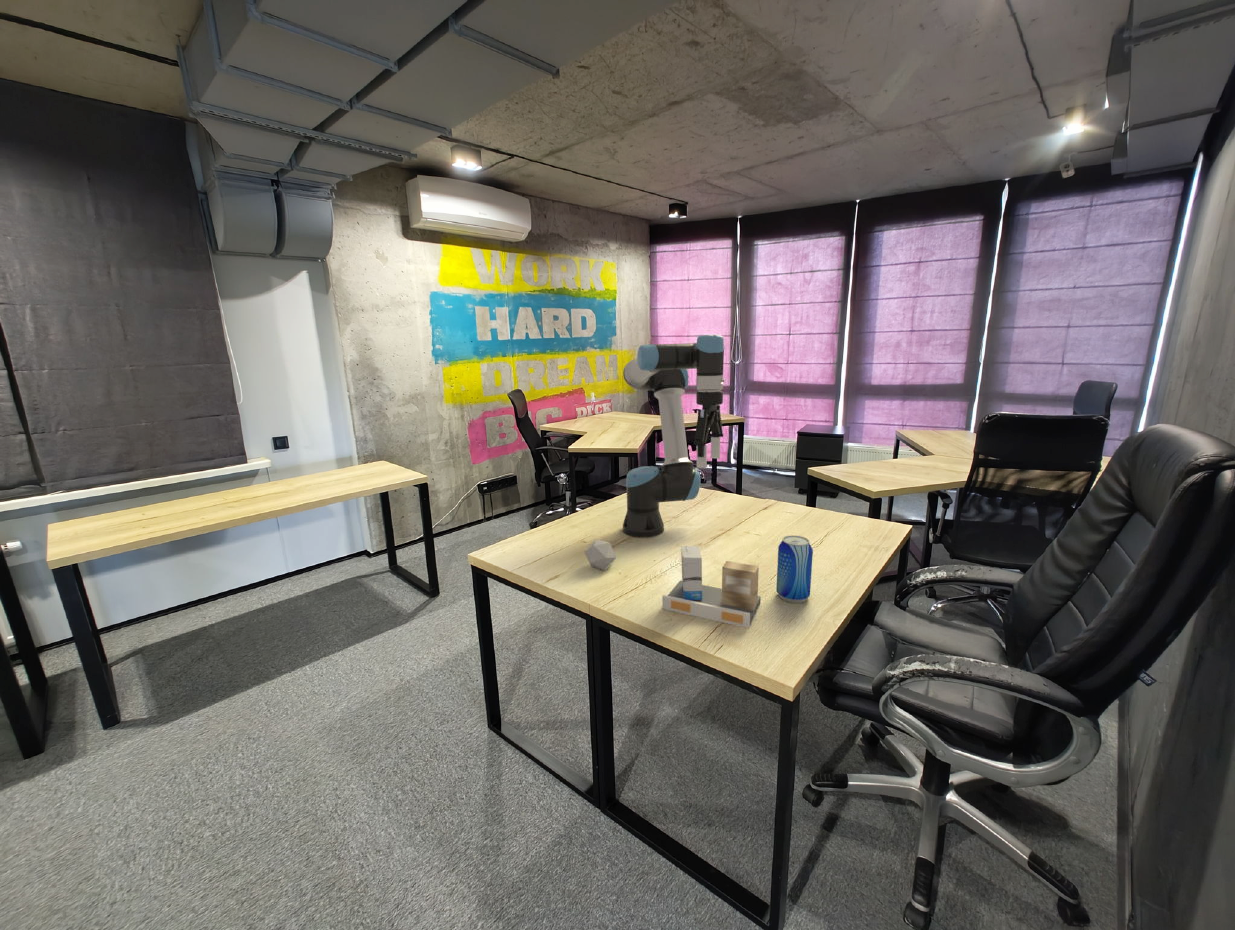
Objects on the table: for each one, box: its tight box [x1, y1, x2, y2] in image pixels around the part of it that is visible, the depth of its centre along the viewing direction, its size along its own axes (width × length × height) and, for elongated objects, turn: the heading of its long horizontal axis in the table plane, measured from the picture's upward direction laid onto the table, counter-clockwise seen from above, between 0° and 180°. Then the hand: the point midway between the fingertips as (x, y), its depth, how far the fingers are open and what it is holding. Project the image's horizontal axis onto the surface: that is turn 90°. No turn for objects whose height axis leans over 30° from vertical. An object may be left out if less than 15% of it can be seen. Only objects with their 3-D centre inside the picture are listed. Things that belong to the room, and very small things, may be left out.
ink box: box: [680, 545, 703, 600], centre depth 129 cm, size 9×5×12 cm, turn 176°
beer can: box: [775, 534, 814, 604], centre depth 129 cm, size 8×8×16 cm
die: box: [584, 538, 617, 571], centre depth 152 cm, size 8×9×10 cm
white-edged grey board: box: [661, 580, 762, 629], centre depth 127 cm, size 22×13×4 cm, turn 63°
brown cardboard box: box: [721, 560, 760, 611], centre depth 123 cm, size 8×4×10 cm, turn 63°
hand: (708, 462), depth 146 cm, fingers open, 13 cm apart
